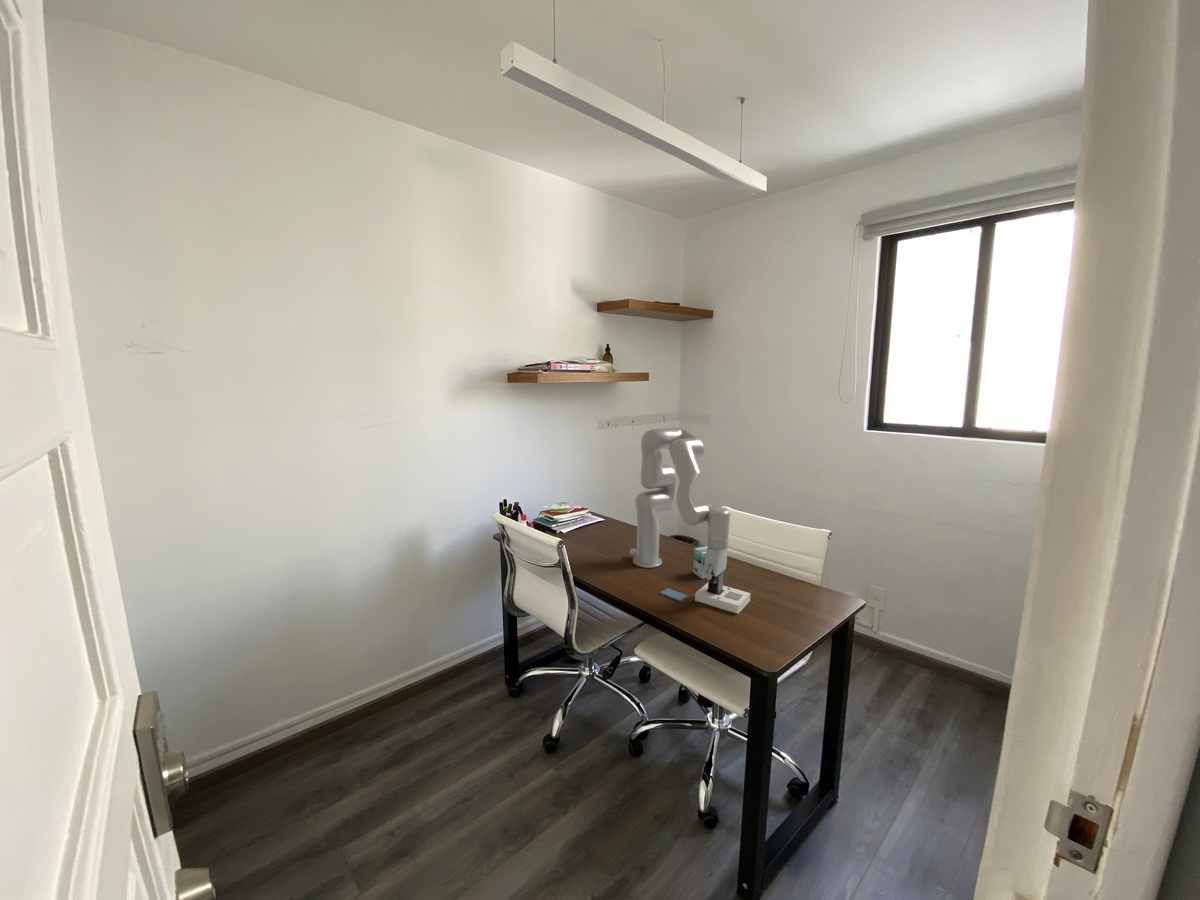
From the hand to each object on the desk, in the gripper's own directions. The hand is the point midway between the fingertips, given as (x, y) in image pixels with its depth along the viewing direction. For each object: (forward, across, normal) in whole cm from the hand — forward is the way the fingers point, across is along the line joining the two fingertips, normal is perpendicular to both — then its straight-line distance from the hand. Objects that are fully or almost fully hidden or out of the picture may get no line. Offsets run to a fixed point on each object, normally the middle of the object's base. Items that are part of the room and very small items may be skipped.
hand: (715, 590), depth 174 cm
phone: (+4, +7, -13) cm, 15 cm away
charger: (+1, 0, 0) cm, 1 cm away
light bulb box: (+3, -19, -11) cm, 22 cm away
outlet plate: (+3, 0, +3) cm, 4 cm away
